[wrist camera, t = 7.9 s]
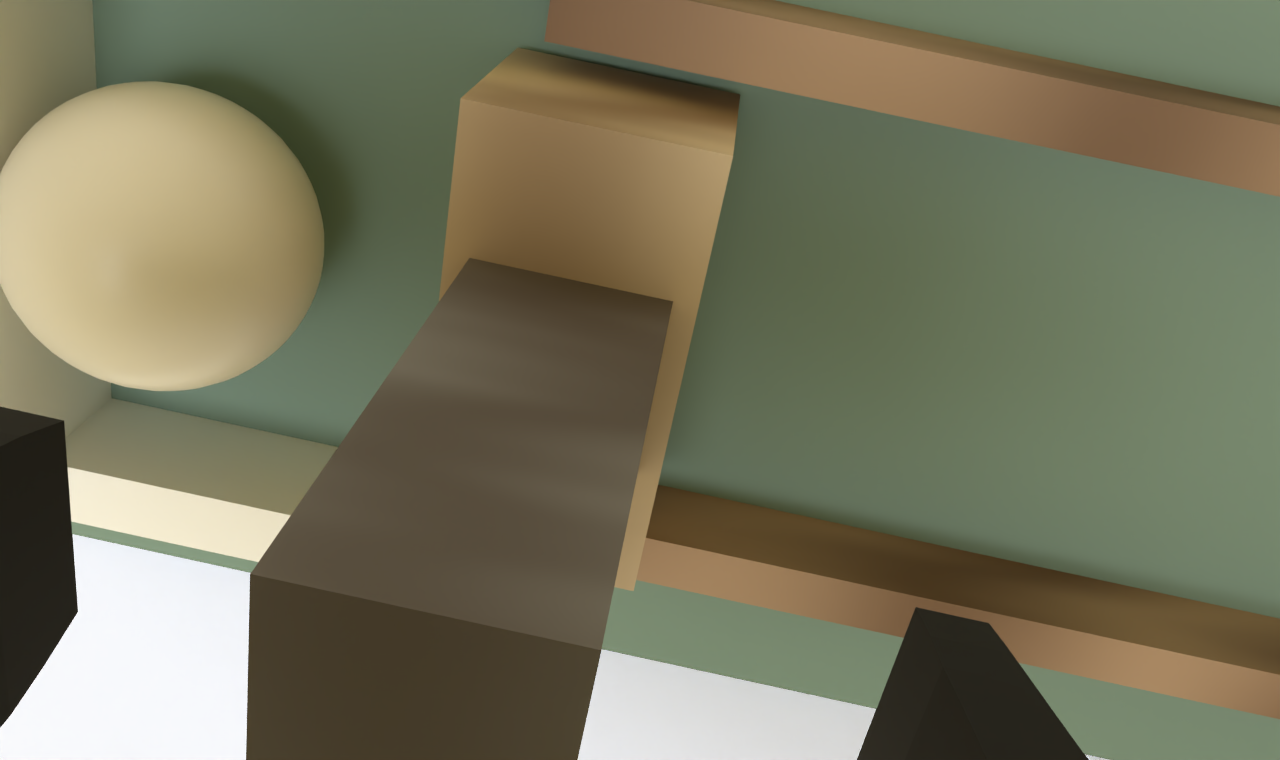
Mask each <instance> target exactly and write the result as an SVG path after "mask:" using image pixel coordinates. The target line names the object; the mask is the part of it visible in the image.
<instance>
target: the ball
mask: <svg viewBox="0 0 1280 760" xmlns="http://www.w3.org/2000/svg"><path fill="white" fill-rule="evenodd" d="M323 259H324V228H323V220H322V216H321V212H320V208H319V204H318V200H317V196H316V194H315V191H314V189H313V186H312V184H311V182H310V180H309V178H308V176H307V174H306V172H305V170H304V169H303V167H302V165H301V163H300V162H299V160H298V159H297V157H296V156H295V155H294V154H293V152H292V151H291V150H290V149H289V147H288V146H287V145H286V144H285V142H284V141H283V140H282V139H281V137H279V136H278V135H277V134H276V133H275V132H274V131H273V130H272V129H271V128H270V127H269V126H267V125H266V124H265V123H264V122H263V121H262V120H260V119H259V118H258V117H256V116H255V115H253V114H252V113H250V112H249V111H247V110H246V109H244V108H243V107H241V106H239V105H237V104H236V103H234V102H232V101H230V100H228V99H225V98H223V97H221V96H219V95H217V94H214V93H211V92H208V91H205V90H202V89H198V88H195V87H191V86H188V85H181V84H174V83H166V82H158V81H144V82H128V83H121V84H115V85H109V86H105V87H102V88H99V89H95V90H92V91H89V92H87V93H84V94H82V95H80V96H77V97H75V98H73V99H71V100H69V101H66V102H65V103H63V104H61V105H60V106H58V107H57V108H55V109H53V110H52V111H50V112H49V113H48V114H46V115H45V116H44V117H43V118H42V119H40V120H39V121H38V122H37V123H35V125H34V126H33V127H32V128H31V129H30V130H29V131H28V132H27V133H26V134H25V135H24V136H23V137H22V139H21V140H20V141H19V143H18V144H17V145H16V147H15V148H14V149H13V151H12V152H11V154H10V156H9V157H8V159H7V161H6V163H5V165H4V166H3V168H2V171H1V173H0V284H1V287H2V289H3V292H4V294H5V296H6V297H7V299H8V301H9V303H10V305H11V307H12V308H13V310H14V311H15V312H16V314H17V315H18V316H19V318H20V319H21V320H22V322H23V323H24V324H25V326H26V327H27V328H28V330H29V331H30V332H31V333H32V334H33V335H34V336H35V337H36V338H37V339H38V340H39V341H40V342H41V343H42V344H43V345H44V346H45V347H47V348H48V349H49V350H50V351H51V352H52V353H54V354H55V355H57V356H58V357H59V358H61V359H62V360H64V361H65V362H67V363H68V364H70V365H72V366H73V367H75V368H77V369H79V370H81V371H83V372H85V373H87V374H89V375H91V376H93V377H95V378H98V379H101V380H104V381H107V382H110V383H113V384H117V385H120V386H124V387H129V388H136V389H143V390H150V391H181V390H190V389H197V388H202V387H205V386H209V385H213V384H216V383H220V382H224V381H226V380H229V379H231V378H234V377H236V376H238V375H240V374H242V373H244V372H246V371H248V370H249V369H251V368H253V367H255V366H256V365H258V364H259V363H261V362H262V361H264V360H265V359H267V358H268V357H269V356H270V355H272V354H273V353H274V352H275V351H276V350H278V349H279V348H280V347H281V346H282V345H283V344H284V343H285V342H286V341H287V340H288V338H289V337H290V336H291V335H292V334H293V332H294V331H295V330H296V329H297V327H298V326H299V324H300V323H301V321H302V320H303V318H304V317H305V315H306V313H307V311H308V309H309V307H310V306H311V303H312V301H313V299H314V296H315V294H316V291H317V288H318V285H319V282H320V278H321V273H322V268H323Z"/></svg>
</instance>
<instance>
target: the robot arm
mask: <svg viewBox="0 0 1280 760" xmlns="http://www.w3.org/2000/svg"><path fill="white" fill-rule="evenodd" d="M77 612H78V608H77V594H76V580H75V566H74V552H73V538H72V524H71V509H70V495H69V481H68V467H67V453H66V439H65V425H64V420H60V419H55V418H50V417H46V416H41V415H37V414H32V413H28V412H23V411H19V410H14V409H9V408H5V407H0V727H1V726H2V725H3V724H4V722H5V721H6V720H7V719H8V717H9V716H10V715H11V714H12V712H13V711H14V709H15V708H16V706H17V705H18V703H19V702H20V700H21V699H22V697H23V696H24V694H25V693H26V691H27V690H28V689H29V687H30V686H31V684H32V683H33V681H34V680H35V678H36V677H37V675H38V674H39V672H40V671H41V669H42V668H43V666H44V665H45V663H46V662H47V660H48V658H49V657H50V655H51V654H52V652H53V650H54V649H55V647H56V646H57V644H58V642H59V641H60V639H61V638H62V636H63V634H64V633H65V631H66V630H67V628H68V627H69V625H70V623H71V622H72V620H73V619H74V617H75V615H76V614H77ZM857 760H1088V758H1087V757H1086V756H1085V754H1084V753H1083V752H1082V750H1081V749H1080V747H1079V746H1078V745H1077V743H1076V742H1075V740H1074V739H1073V738H1072V736H1071V735H1070V734H1069V732H1068V731H1067V729H1066V728H1065V727H1064V725H1063V724H1062V722H1061V721H1060V720H1059V718H1058V717H1057V716H1056V714H1055V713H1054V711H1053V710H1052V709H1051V707H1050V706H1049V704H1048V703H1047V702H1046V700H1045V699H1044V697H1043V696H1042V695H1041V693H1040V692H1039V690H1038V689H1037V688H1036V686H1035V685H1034V683H1033V682H1032V681H1031V679H1030V678H1029V677H1028V675H1027V674H1026V672H1025V671H1024V670H1023V668H1022V667H1021V665H1020V664H1019V663H1018V661H1017V660H1016V658H1015V657H1014V656H1013V654H1012V653H1011V652H1010V650H1009V649H1008V648H1007V646H1006V645H1005V643H1004V642H1003V641H1002V639H1001V638H1000V637H999V636H998V634H997V633H996V632H995V630H994V629H993V628H992V626H991V625H990V624H989V623H986V622H982V621H977V620H972V619H968V618H963V617H959V616H954V615H950V614H945V613H941V612H936V611H931V610H927V609H922V608H918V607H915V610H914V613H913V615H912V618H911V620H910V623H909V626H908V628H907V631H906V633H905V636H904V639H903V641H902V644H901V646H900V649H899V652H898V654H897V657H896V660H895V662H894V665H893V667H892V670H891V673H890V675H889V678H888V680H887V683H886V686H885V688H884V691H883V693H882V696H881V699H880V701H879V704H878V706H877V709H876V712H875V714H874V717H873V719H872V722H871V725H870V727H869V730H868V732H867V735H866V738H865V740H864V743H863V745H862V748H861V751H860V753H859V756H858V758H857Z"/></svg>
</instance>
